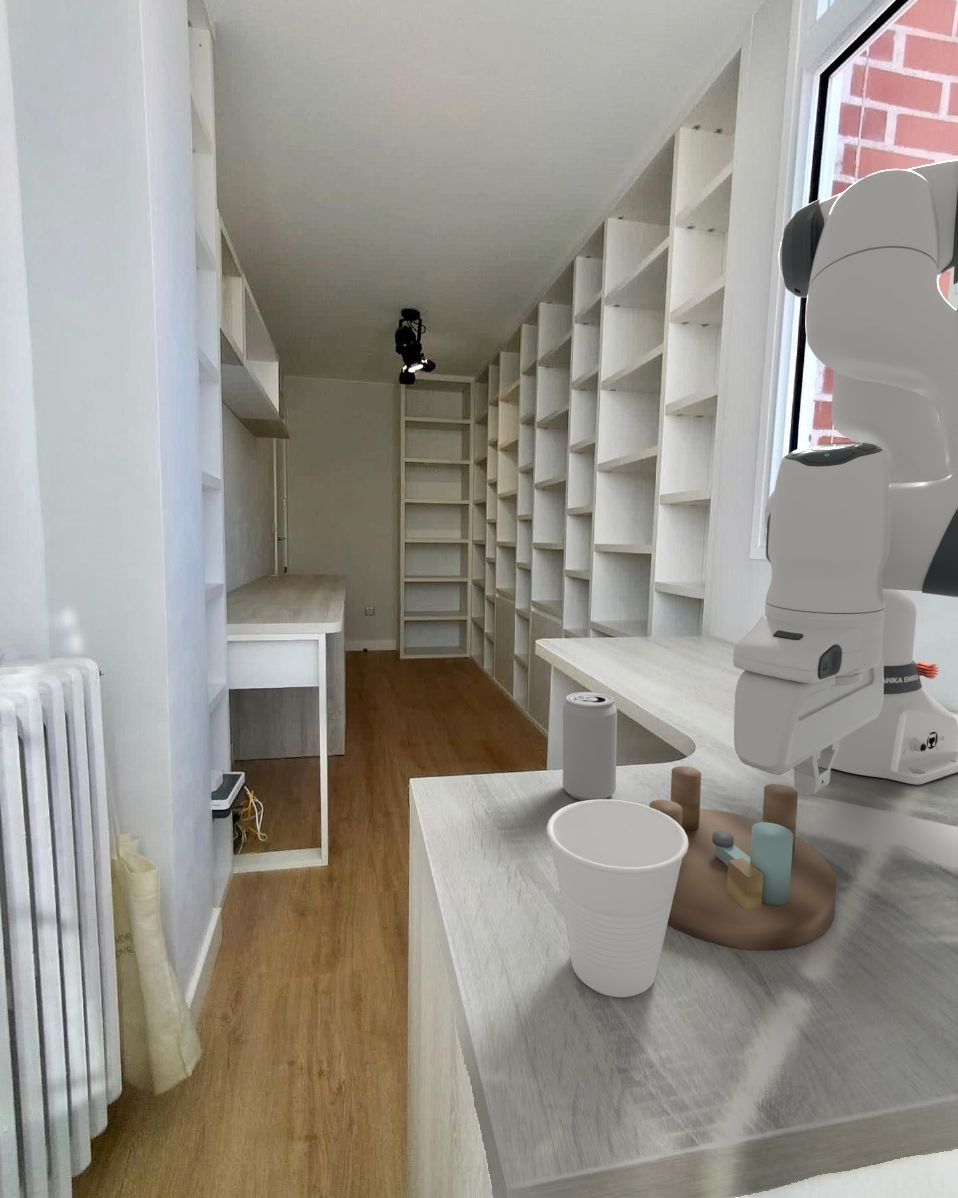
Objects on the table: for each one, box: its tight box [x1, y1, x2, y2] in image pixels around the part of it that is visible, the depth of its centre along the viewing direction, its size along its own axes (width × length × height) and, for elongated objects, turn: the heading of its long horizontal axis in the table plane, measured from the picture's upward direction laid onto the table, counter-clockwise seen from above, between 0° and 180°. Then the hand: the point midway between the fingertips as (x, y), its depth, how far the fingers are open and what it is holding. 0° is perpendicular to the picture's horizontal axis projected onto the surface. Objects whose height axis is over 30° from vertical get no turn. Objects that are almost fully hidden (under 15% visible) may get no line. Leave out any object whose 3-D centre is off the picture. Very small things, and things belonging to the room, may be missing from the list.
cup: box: [546, 798, 689, 998], centre depth 44 cm, size 10×10×11 cm
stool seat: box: [648, 765, 837, 951], centre depth 55 cm, size 18×18×8 cm
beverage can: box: [562, 691, 618, 801], centre depth 73 cm, size 6×6×12 cm
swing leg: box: [712, 822, 793, 905], centre depth 52 cm, size 8×3×5 cm, turn 14°
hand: (811, 787), depth 54 cm, fingers closed
